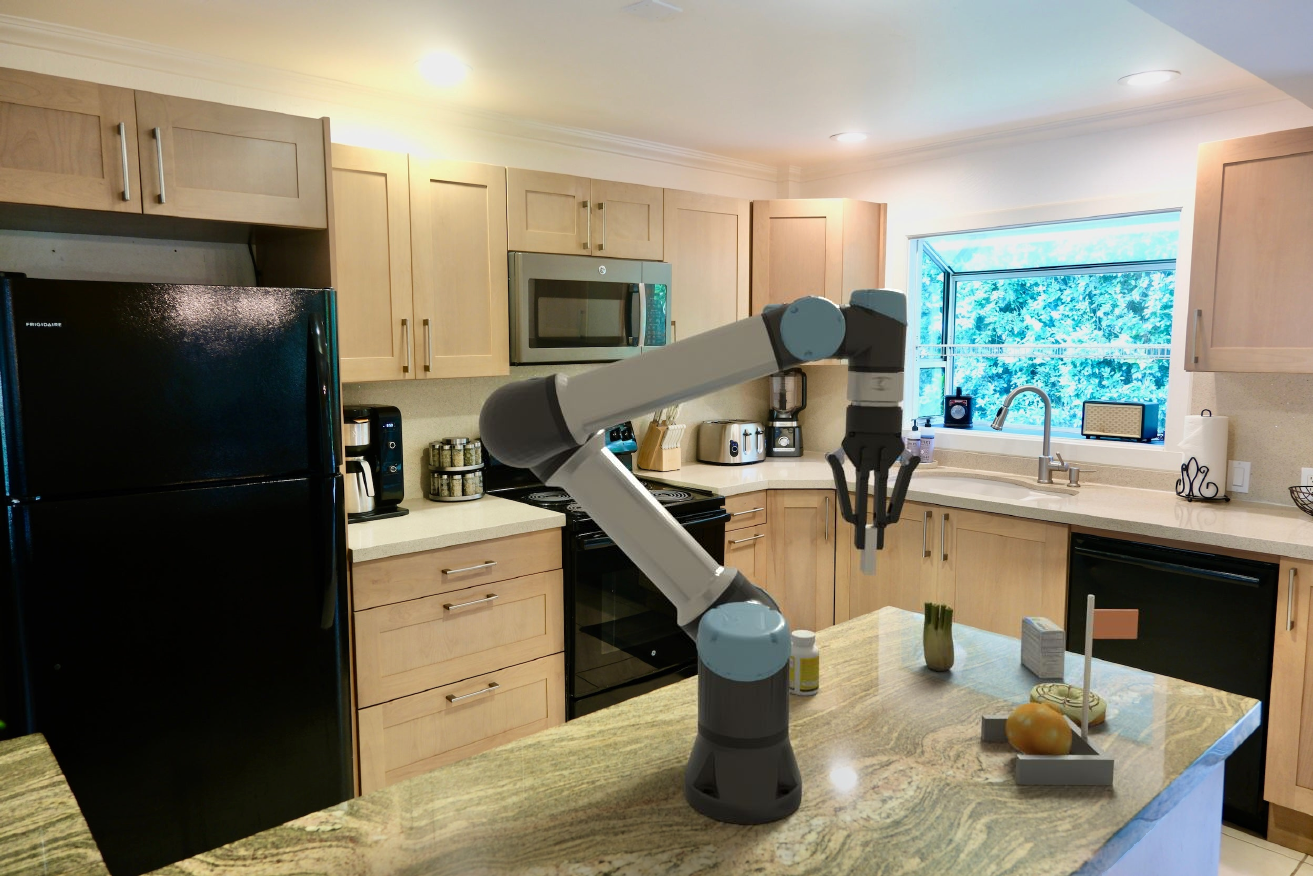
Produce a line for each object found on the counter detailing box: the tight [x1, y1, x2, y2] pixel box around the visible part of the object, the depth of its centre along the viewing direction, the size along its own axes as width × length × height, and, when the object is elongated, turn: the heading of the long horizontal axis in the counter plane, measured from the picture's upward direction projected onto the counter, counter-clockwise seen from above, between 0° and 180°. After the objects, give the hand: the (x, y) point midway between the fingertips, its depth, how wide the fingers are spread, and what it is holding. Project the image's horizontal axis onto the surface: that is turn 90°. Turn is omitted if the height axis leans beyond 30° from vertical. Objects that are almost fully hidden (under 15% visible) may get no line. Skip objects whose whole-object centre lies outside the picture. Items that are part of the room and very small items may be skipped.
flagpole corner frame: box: [980, 594, 1139, 786], centre depth 114 cm, size 18×13×24 cm
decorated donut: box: [1029, 682, 1108, 727], centre depth 130 cm, size 10×11×4 cm
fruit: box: [1006, 702, 1072, 755], centre depth 115 cm, size 8×8×8 cm
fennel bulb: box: [922, 600, 955, 672], centre depth 149 cm, size 6×5×12 cm
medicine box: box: [1020, 616, 1066, 680], centre depth 148 cm, size 8×4×9 cm, turn 179°
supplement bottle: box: [789, 629, 820, 697], centre depth 139 cm, size 5×5×10 cm
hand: (867, 572), depth 116 cm, fingers closed
